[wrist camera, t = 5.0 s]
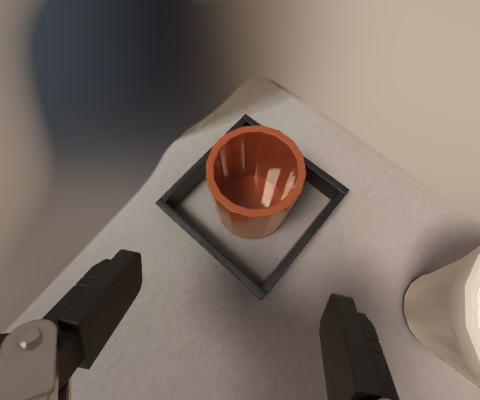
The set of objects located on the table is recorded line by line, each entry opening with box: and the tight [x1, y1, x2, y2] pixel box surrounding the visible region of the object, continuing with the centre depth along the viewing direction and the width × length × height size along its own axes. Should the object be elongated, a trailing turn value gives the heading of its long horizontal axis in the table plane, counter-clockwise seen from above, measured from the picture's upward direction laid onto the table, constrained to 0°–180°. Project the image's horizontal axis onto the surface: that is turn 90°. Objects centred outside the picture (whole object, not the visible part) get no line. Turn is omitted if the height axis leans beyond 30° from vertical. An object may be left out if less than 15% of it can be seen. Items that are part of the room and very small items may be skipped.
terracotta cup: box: [206, 125, 306, 239], centre depth 21 cm, size 6×6×8 cm
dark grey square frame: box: [156, 114, 349, 300], centre depth 24 cm, size 12×12×2 cm
